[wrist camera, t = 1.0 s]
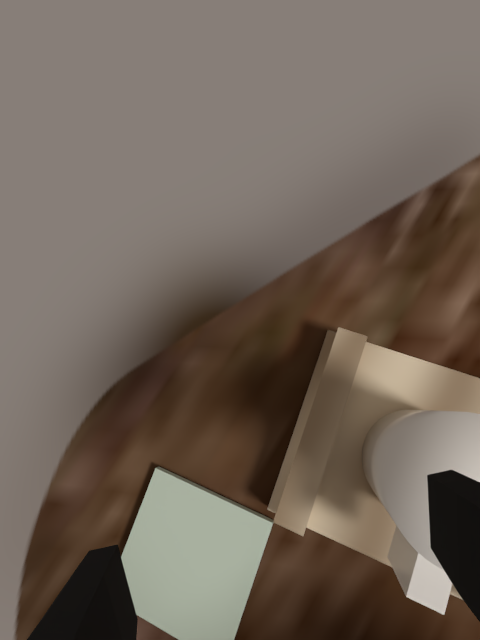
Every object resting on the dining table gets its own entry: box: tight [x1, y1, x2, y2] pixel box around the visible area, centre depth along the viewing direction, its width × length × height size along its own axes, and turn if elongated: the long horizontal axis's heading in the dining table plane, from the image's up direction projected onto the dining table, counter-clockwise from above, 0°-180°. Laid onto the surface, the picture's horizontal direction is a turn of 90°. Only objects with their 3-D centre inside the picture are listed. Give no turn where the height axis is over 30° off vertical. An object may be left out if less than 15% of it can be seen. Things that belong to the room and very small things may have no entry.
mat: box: [121, 467, 274, 640], centre depth 20 cm, size 7×7×1 cm
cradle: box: [267, 327, 480, 600], centre depth 18 cm, size 12×10×2 cm
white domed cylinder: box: [362, 410, 480, 615], centre depth 15 cm, size 5×6×7 cm
